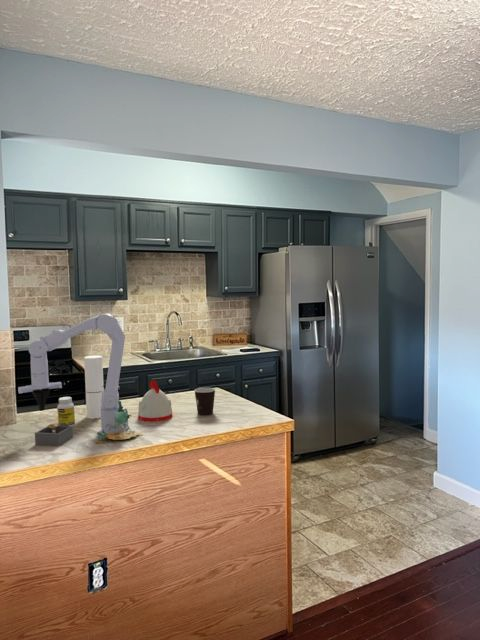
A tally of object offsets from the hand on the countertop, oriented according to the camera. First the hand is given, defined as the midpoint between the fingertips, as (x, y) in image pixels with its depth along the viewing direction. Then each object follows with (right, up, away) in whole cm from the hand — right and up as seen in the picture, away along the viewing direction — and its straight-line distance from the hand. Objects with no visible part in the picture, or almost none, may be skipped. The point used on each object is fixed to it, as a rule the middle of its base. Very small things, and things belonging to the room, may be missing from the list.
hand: (41, 410), depth 177 cm
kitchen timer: (+37, -8, +24) cm, 45 cm away
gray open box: (+6, -10, -4) cm, 13 cm away
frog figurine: (+28, -10, -1) cm, 30 cm away
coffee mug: (+57, -7, +30) cm, 65 cm away
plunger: (+6, -10, -4) cm, 13 cm away
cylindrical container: (+12, -8, +26) cm, 30 cm away
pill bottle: (+4, -9, +13) cm, 17 cm away
